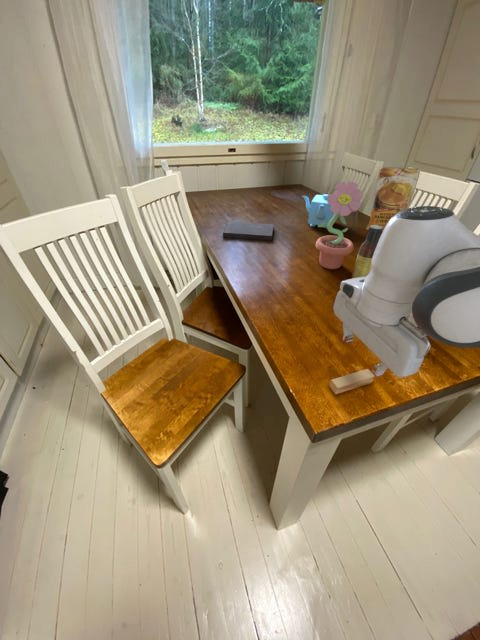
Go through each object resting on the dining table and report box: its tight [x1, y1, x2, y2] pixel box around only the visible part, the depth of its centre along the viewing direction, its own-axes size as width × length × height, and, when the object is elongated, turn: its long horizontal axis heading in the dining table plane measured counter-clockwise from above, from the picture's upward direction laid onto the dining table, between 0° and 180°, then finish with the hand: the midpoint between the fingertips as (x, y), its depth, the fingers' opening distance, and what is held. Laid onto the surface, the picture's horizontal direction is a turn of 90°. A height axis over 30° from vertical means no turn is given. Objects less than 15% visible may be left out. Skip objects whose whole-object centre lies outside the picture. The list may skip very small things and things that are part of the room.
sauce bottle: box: [351, 225, 383, 279], centre depth 92 cm, size 7×6×20 cm
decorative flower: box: [315, 181, 363, 270], centre depth 99 cm, size 15×14×30 cm
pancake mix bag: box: [365, 167, 421, 233], centre depth 130 cm, size 7×19×28 cm, turn 85°
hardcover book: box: [222, 221, 275, 241], centre depth 133 cm, size 16×23×2 cm
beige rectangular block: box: [328, 368, 376, 395], centre depth 62 cm, size 10×2×2 cm, turn 109°
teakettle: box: [301, 193, 334, 229], centre depth 140 cm, size 19×19×15 cm
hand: (361, 356), depth 57 cm, fingers open, 8 cm apart
